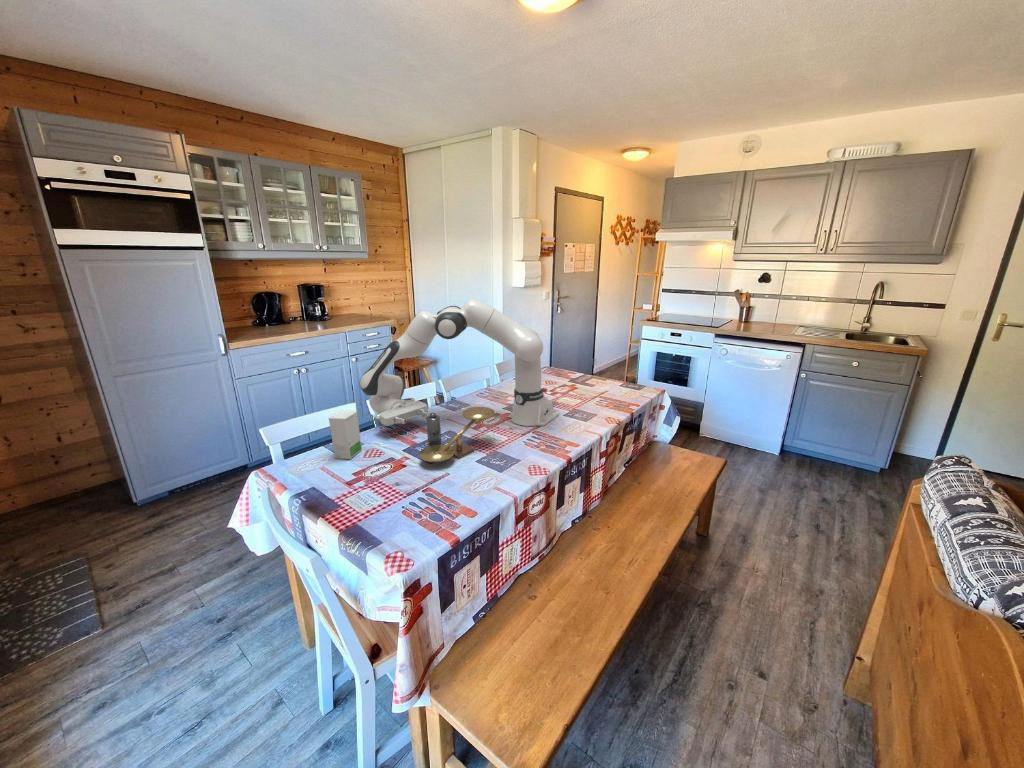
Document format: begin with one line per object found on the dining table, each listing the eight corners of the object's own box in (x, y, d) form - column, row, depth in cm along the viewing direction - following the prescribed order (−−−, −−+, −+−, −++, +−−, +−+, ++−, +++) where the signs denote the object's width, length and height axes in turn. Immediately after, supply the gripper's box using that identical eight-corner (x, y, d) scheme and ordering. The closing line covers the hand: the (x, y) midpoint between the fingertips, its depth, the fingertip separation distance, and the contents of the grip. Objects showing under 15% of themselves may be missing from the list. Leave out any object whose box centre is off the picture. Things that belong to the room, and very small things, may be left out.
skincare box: (350, 460, 144) (344, 419, 139) (333, 458, 145) (327, 418, 141) (362, 449, 152) (357, 410, 147) (346, 448, 153) (341, 409, 149)
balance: (480, 433, 165) (479, 404, 161) (501, 442, 157) (500, 411, 153) (412, 462, 142) (409, 429, 138) (434, 474, 134) (431, 439, 131)
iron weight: (436, 440, 159) (433, 410, 156) (444, 444, 156) (442, 413, 152) (425, 444, 156) (423, 413, 152) (433, 448, 153) (431, 417, 149)
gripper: (372, 409, 162) (391, 418, 153) (415, 396, 176) (435, 404, 167) (374, 424, 164) (393, 433, 155) (416, 410, 178) (436, 418, 169)
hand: (415, 418), depth 161 cm, fingers open, 8 cm apart
